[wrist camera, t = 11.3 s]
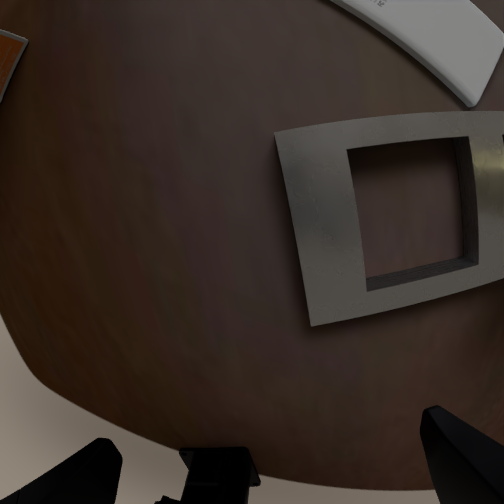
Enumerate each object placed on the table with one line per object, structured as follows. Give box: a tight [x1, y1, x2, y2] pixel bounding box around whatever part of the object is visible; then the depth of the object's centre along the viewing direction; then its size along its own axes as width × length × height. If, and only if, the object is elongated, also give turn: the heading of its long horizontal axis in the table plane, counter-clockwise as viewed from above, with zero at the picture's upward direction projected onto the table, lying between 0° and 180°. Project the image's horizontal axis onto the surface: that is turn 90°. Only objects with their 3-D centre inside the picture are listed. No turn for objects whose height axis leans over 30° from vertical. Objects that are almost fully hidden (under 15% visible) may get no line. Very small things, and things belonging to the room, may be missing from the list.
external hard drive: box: [330, 0, 504, 107], centre depth 14 cm, size 2×8×12 cm
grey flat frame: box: [274, 111, 504, 326], centre depth 16 cm, size 11×26×2 cm, turn 102°
